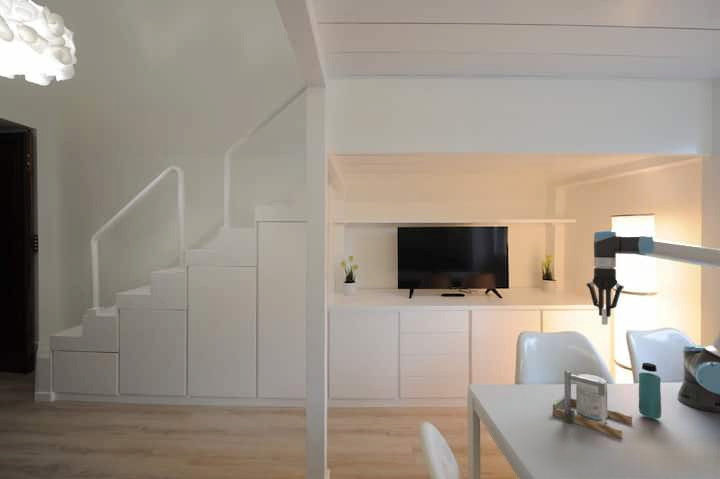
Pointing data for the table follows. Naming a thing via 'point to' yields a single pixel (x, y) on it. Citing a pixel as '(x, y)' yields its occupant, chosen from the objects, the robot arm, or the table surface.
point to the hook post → (567, 391)
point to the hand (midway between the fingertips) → (604, 324)
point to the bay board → (607, 429)
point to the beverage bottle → (649, 392)
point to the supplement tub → (591, 400)
